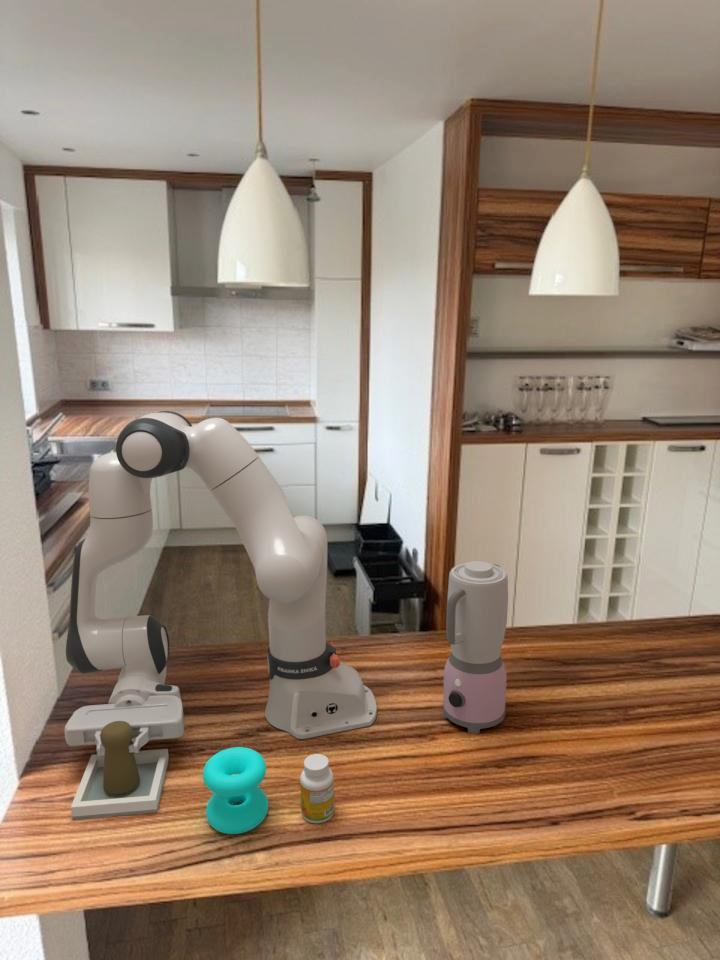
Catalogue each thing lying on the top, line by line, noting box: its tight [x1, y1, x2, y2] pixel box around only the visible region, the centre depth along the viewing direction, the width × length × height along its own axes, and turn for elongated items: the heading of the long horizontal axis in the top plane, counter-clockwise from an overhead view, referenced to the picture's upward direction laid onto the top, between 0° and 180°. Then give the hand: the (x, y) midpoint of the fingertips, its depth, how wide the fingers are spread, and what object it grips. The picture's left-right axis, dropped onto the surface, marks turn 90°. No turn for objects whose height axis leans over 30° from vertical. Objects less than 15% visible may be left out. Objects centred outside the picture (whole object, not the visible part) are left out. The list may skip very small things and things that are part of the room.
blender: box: [442, 560, 509, 735], centre depth 137 cm, size 16×12×32 cm
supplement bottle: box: [299, 753, 335, 824], centre depth 116 cm, size 5×5×10 cm
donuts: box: [202, 746, 269, 835], centre depth 115 cm, size 10×10×10 cm
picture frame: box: [70, 748, 170, 821], centre depth 123 cm, size 13×13×2 cm
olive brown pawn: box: [100, 721, 140, 794], centre depth 121 cm, size 6×6×11 cm
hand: (117, 751), depth 120 cm, fingers closed on olive brown pawn, 4 cm apart
